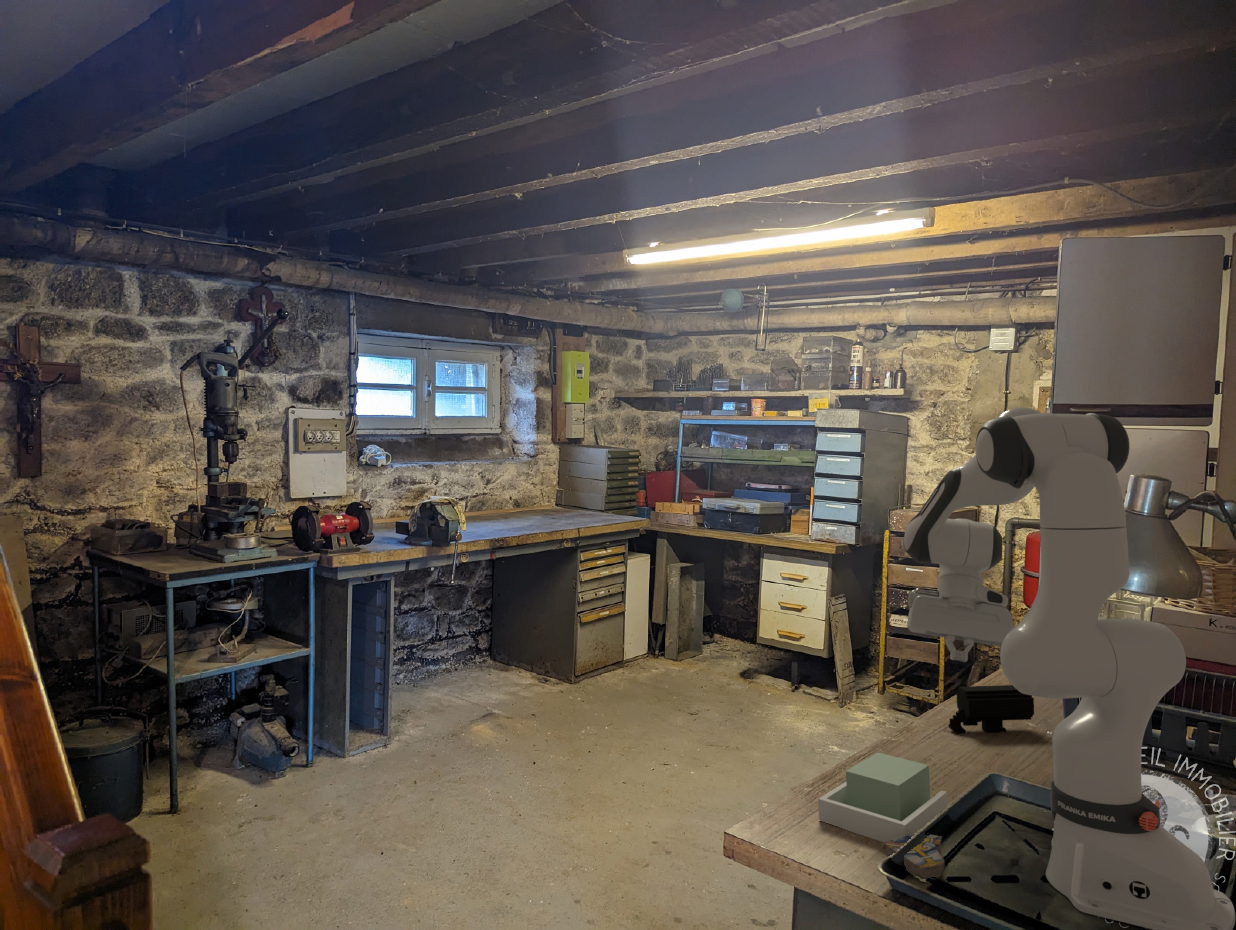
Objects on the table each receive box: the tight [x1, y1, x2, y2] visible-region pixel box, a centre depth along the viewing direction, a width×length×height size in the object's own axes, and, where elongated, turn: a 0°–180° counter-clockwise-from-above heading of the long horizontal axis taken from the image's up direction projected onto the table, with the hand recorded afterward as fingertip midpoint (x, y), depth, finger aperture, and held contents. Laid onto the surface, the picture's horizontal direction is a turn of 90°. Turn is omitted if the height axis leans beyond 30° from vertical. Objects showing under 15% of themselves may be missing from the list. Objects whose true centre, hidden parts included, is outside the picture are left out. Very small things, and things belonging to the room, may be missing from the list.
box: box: [817, 781, 949, 843], centre depth 138 cm, size 16×17×4 cm
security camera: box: [947, 684, 1035, 735], centre depth 179 cm, size 7×18×10 cm, turn 88°
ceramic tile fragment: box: [879, 834, 946, 879], centre depth 121 cm, size 12×3×10 cm
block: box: [845, 752, 931, 821], centre depth 140 cm, size 10×12×8 cm
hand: (958, 660), depth 156 cm, fingers closed
